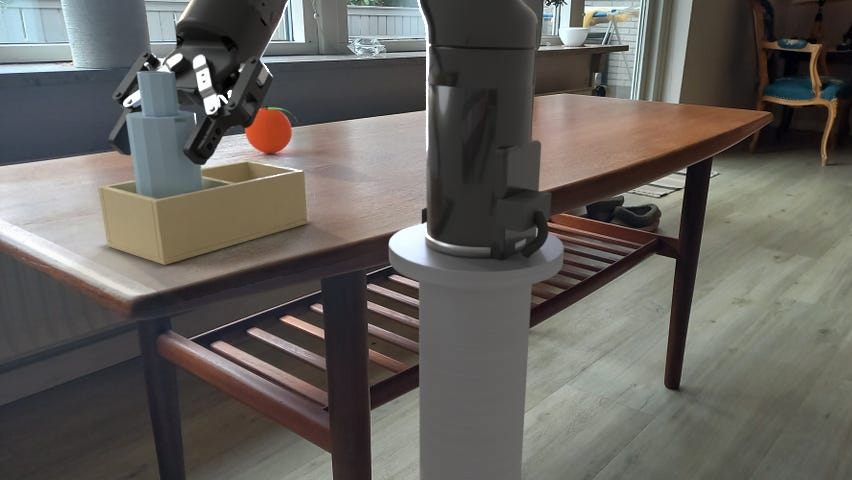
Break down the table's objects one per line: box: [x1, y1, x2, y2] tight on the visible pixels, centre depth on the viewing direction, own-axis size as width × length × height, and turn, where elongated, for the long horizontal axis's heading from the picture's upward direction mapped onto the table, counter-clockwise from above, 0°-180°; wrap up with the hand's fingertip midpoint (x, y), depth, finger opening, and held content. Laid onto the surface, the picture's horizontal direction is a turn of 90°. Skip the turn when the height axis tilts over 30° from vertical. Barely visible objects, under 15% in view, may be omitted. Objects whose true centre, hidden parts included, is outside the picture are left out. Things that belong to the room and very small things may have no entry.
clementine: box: [244, 105, 298, 154], centre depth 106 cm, size 8×7×7 cm
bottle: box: [126, 71, 204, 199], centre depth 61 cm, size 5×6×14 cm
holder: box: [97, 159, 308, 266], centre depth 65 cm, size 8×16×6 cm, turn 147°
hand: (154, 154), depth 59 cm, fingers open, 8 cm apart
